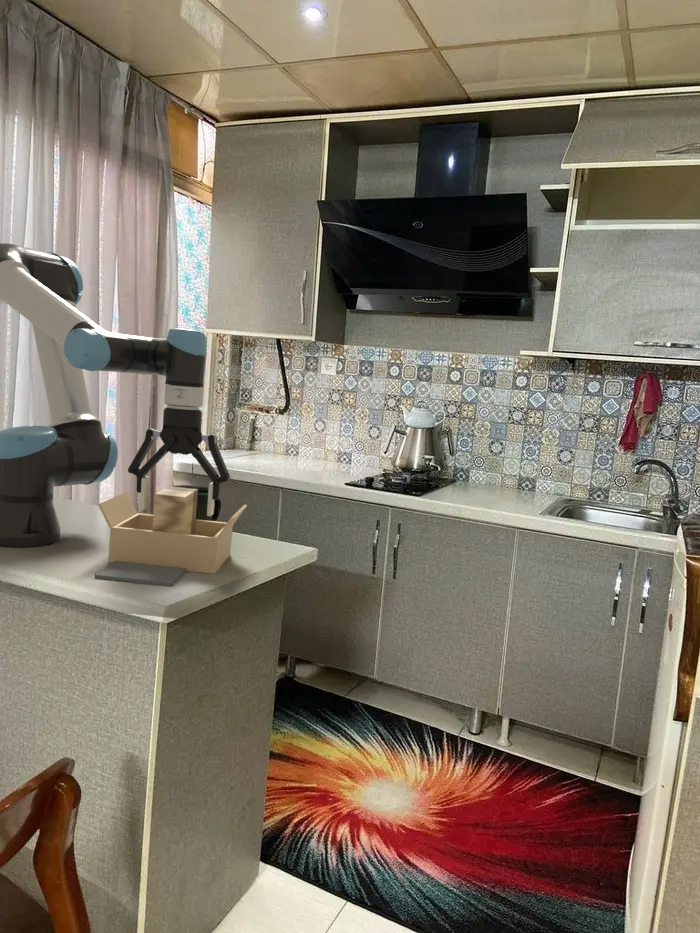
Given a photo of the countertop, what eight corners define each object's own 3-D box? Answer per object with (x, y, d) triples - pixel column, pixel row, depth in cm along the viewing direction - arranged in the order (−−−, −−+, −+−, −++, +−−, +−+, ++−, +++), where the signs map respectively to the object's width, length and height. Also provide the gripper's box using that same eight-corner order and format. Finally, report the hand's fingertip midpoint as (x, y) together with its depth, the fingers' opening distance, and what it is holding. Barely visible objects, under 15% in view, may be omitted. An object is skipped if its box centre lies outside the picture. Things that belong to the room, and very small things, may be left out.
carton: (94, 560, 139) (97, 503, 137) (121, 543, 153) (124, 491, 152) (228, 575, 138) (233, 517, 137) (242, 556, 153) (247, 504, 151)
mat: (94, 577, 128) (95, 574, 128) (114, 563, 138) (115, 560, 138) (171, 586, 128) (171, 582, 128) (186, 571, 138) (186, 568, 138)
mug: (152, 539, 160) (155, 486, 158) (200, 531, 172) (204, 482, 170) (184, 549, 154) (188, 495, 152) (232, 541, 165) (237, 490, 164)
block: (150, 563, 141) (154, 493, 139) (164, 551, 151) (169, 486, 149) (180, 566, 141) (185, 496, 139) (193, 554, 151) (197, 489, 149)
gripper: (114, 402, 138) (109, 509, 141) (241, 413, 138) (234, 520, 140) (128, 401, 146) (122, 503, 148) (248, 412, 145) (241, 514, 148)
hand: (177, 512), depth 144 cm, fingers open, 13 cm apart
